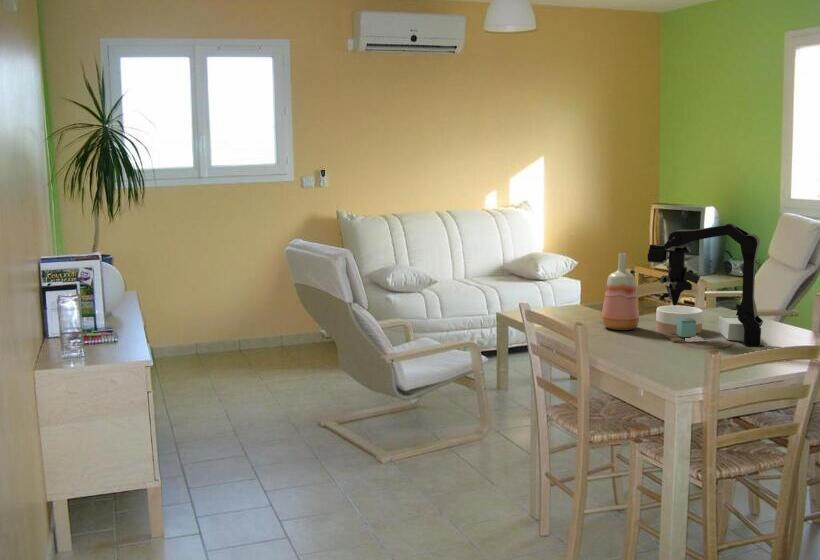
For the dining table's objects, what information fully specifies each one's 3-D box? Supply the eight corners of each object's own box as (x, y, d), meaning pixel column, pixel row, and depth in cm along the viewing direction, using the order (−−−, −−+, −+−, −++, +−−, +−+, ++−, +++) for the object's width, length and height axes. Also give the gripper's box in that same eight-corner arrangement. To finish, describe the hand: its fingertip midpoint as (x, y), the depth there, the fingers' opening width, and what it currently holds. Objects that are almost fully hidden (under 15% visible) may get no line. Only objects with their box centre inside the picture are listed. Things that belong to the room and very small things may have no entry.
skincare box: (740, 316, 339) (752, 323, 323) (739, 333, 340) (751, 341, 324) (718, 315, 339) (729, 322, 324) (717, 332, 340) (728, 340, 325)
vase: (593, 326, 351) (596, 252, 347) (623, 323, 357) (626, 250, 352) (616, 333, 338) (618, 256, 334) (646, 330, 344) (649, 254, 339)
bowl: (661, 335, 336) (662, 313, 335) (651, 325, 353) (651, 305, 352) (707, 335, 335) (708, 313, 334) (694, 326, 352) (695, 305, 351)
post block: (706, 342, 323) (707, 323, 322) (673, 342, 323) (674, 323, 322) (697, 336, 332) (698, 318, 331) (665, 337, 332) (666, 318, 331)
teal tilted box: (695, 336, 325) (696, 320, 324) (681, 337, 324) (681, 321, 324) (690, 333, 330) (691, 318, 329) (676, 334, 330) (677, 318, 329)
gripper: (707, 267, 319) (704, 309, 321) (689, 260, 337) (687, 300, 340) (676, 267, 319) (674, 310, 321) (660, 260, 337) (658, 301, 339)
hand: (674, 305), depth 330 cm, fingers closed
